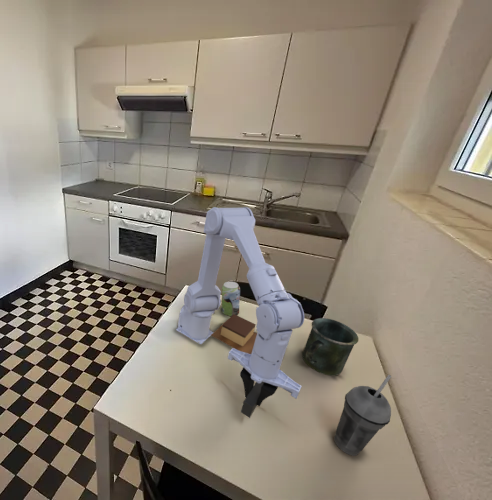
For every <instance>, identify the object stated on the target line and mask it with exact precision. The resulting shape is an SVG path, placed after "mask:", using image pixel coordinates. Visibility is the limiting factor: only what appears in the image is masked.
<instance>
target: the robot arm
mask: <svg viewBox="0 0 492 500" xmlns="http://www.w3.org/2000/svg"><path fill="white" fill-rule="evenodd" d="M204 220H205V221H204V226H203V227H204V228H203V233H204V234H205V239H204V245H203V250H202V256H201V261H200V266H199V272H198V278H197V280H196V281H195V282H193V283H191V284H189V286H187V289H186V292H185V294H184V297H183V303H184V304H183V306H182V307H181V309H180V311H179V315H178V323H177V328H175V330H176V331H177V332H179V333H181V334H182V335H184V336H185V337H187V338H188V339H190V340H192V341H194V342H195V343H197V344H199V345H202V344H203V343H205V342H206V340H208V339H209V338H210V337H212V336H211V335H212V334H213V333H214V331H212V330H211V329H210V327H211V322H212V317H213V315H214V314H215V312H216V311H218V310H219V309H220V307H221V305H222V298H221V296H222V290H221V289H220V287H219V286H218V285H217V280H218V274H219V270H220V266H221V262H222V257H223V251H224V247H225V242H226V240H231V241H233V242H234V243H235V245H236V247H237V249H238V250H239V253H240V254H241V256H242V258H243V260H244V262H245V263H246V266H247V267H248V271H247V273H246V278H247V282H248V285H249V287H250V289H251V291H252V293H253V296H254V298H255V300H256V303H257V305H258V306H256V308H255V316H256V325H255V328H256V331H257V332H256V333H257V336H256V339H255V343H254V346H253V350H252V353H251V354H248V353H245V352H241V351H239V350H236V349H235V348H233V347H231V349H230V350H229V351H228V353H227V354H228V355H227V360H229V361H231V362H233V361H235V362H236V363H238V364H239V365H240V366H241V367H242V369H241V371H240V373H239V377H240V378H241V380H242V384H243V388H244V398H246V397H247V395H248V394H249V392H250V391H251V389H252V388H253V386H254V385H255V383H256V382H257V383H261V382H264V383H263V385H262V387H261V392H260V396H259V398H258V401H257V404H256V405H257V407H260V406H261V405H262V403H263V402H264V401H265V400H266V399H267V398H269V397H272V396H273V395H274V394H275V393H276V392H277V390H278V388H281V389H283V390H284V391H286V392H288V393H290V396H291V397H292V398H294V399H295V400H297V399H298V397H299V394H300V392H301V390H302V385H301V384H299V383H298V382H296V381H295V380H293V379H292V378H291V377H290V376H289V375H288V374H286V373H285V372H284V371H282V369H281V366H282V363H283V360H284V358H285V354H286V351H287V348H288V345H289V342H290V339H291V337H292V333H293V331H294V330H296V329H299V328H301V327H302V326H303V325H304V322H305V312H304V309H303V306H302V304H301V302H299V301H298V299H297V298H294V297H293V296H292V294H291V293H289V292H287V290H286V289H285V286H284V284H283V282H282V281H281V278H280V277H279V274H278V272H277V270H276V268H275V266H274V265H272V264H269V263H267V262H266V259H265V258H264V255H263V252H262V250H261V247H260V243H259V242H258V238H257V237H256V232H255V231H254V229H255V226H256V218H255V217H254V213H253V210H252V209H251V208H250V207H248V206H243V207H216V206H214V207H212V208H210V209H209V210H208V211H206V215H205V219H204Z"/></svg>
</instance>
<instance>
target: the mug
mask: <svg viewBox="0 0 492 500" xmlns="http://www.w3.org/2000/svg"><path fill="white" fill-rule="evenodd" d="M358 342H359V335H358V333H357V332H356V331H355V330H354V329H352V328H351V327H350V326H348V325H347V324H344V323H343V322H340V321H338V320H335V319H332V318H325V317H319V318H315V319H313V321H311V329H310V332H309V335H308V337H307V340H306V342H305V345H304V347H303V351H302V352H301V353H302V354H301V356H302V359H303V362H304V363H305V364H306V365H307V366H308V367H309V368H311V369H312V370H313V371H316V372H317V373H319V374H323V375H325V376H331V377H332V376H338V375H340V374H341V373H342V372H343V370H344V368H345V366H346V363H347V362H348V359H349V357H350V355H351V353H352V350H353V349H354V345H356V344H357V343H358Z"/></svg>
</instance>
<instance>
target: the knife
mask: <svg viewBox="0 0 492 500" xmlns="http://www.w3.org/2000/svg"><path fill="white" fill-rule="evenodd" d="M263 383H264V382H261V383H257V382H256V381H255V382H254V386H253V388H252V389H251V391H250V392H249V394H248V395H247V397H246V398H245V397H244V398H245V399H244V400H243V402H242V405H241V409H240V413H241V414H242V415H244V416H245V417H247V418H248V419H250V418H251V417H252V415H253V413H254V412H255V410H256V408H257V407H258V405H256V404H257V401H258V398H259V396H260V392H261V387H262V385H263Z"/></svg>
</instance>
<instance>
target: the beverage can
mask: <svg viewBox="0 0 492 500" xmlns="http://www.w3.org/2000/svg"><path fill="white" fill-rule="evenodd" d="M240 300H241V287H240V286H239V284H238V283H237V282H235V281H226V282H224V283H223V284H222V287H221V313H223V315H225V316H229V317H231V316H232V315H233V314H235V315H237V316H239V314H240V306H241V305H240V304H241V303H240V302H241V301H240Z"/></svg>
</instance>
